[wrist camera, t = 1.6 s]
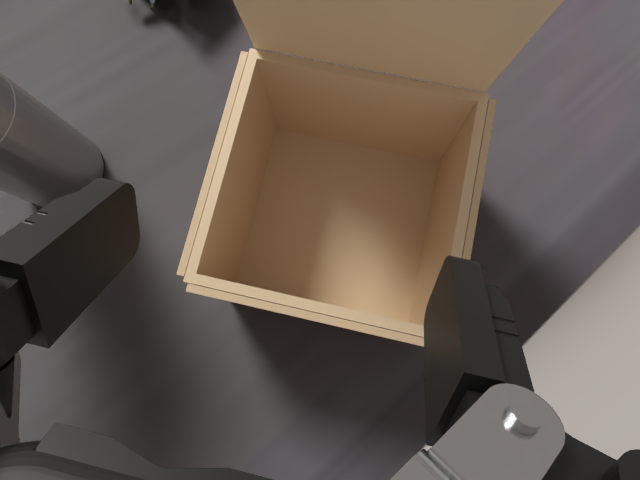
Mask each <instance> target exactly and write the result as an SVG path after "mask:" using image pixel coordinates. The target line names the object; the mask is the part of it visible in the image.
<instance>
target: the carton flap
mask: <svg viewBox="0 0 640 480" xmlns="http://www.w3.org/2000/svg"><path fill="white" fill-rule="evenodd" d="M233 2H234V4H235V6H236V8H237V10H238V13H239V15H240V17H241V19H242V21H243V23H244V26H245V28H246V30H247V32H248V34H249V36H250V39H251V41H252V43H253V45H254V47H255V48H257V49H262V50H268V51H273V52H278V53H283V54H289V55H294V56H299V57H304V58H310V59H315V60H320V61H325V62H331V63H336V64H341V65H346V66H352V67H357V68H362V69H367V70H373V71H378V72H383V73H388V74H394V75H399V76H404V77H409V78H415V79H420V80H425V81H430V82H436V83H441V84H446V85H451V86H456V87H462V88H467V89H472V90H477V91H483V92H485V91H486V90H487V89H488V88H489V86H490V85H491V84H492V83H493V82H494V81H495V79H496V78H497V77H498V76H499V75H500V74H501V72H502V71H503V70H504V69H505V68H506V67H507V65H508V64H509V63H510V62H511V61H512V60H513V59H514V57H515V56H516V55H517V54H518V53H519V52H520V50H521V49H522V48H523V47H524V46H525V45H526V43H527V42H528V41H529V40H530V39H531V38H532V36H533V35H534V34H535V33H536V32H537V31H538V30H539V28H540V27H541V26H542V25H543V24H544V23H545V21H546V20H547V19H548V18H549V17H550V16H551V14H552V13H553V12H554V11H555V10H556V9H557V7H558V6H559V5H560V4H561V3H562V2H563V0H233Z"/></svg>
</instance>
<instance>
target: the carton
mask: <svg viewBox="0 0 640 480" xmlns="http://www.w3.org/2000/svg"><path fill="white" fill-rule="evenodd" d="M496 102H497V100H494V99H489V94H487V93H481V92H476V91H471V90H466V89H461V88H455V87H450V86H445V85H440V84H434V83H429V82H424V81H419V80H413V79H408V78H403V77H398V76H392V75H387V74H382V73H377V72H371V71H366V70H361V69H356V68H350V67H345V66H340V65H335V64H330V63H324V62H319V61H314V60H309V59H303V58H298V57H293V56H288V55H282V54H277V53H272V52H267V51H261V50H256V49H251V48H250V50H249V53H248V52H243V51H241V54H240V57H239V61H238V64H237V68H236V71H235V75H234V78H233V81H232V85H231V88H230V92H229V95H228V99H227V102H226V106H225V109H224V112H223V116H222V119H221V123H220V126H219V130H218V133H217V136H216V140H215V143H214V147H213V150H212V154H211V157H210V161H209V164H208V167H207V171H206V174H205V178H204V181H203V185H202V188H201V191H200V195H199V198H198V202H197V205H196V209H195V212H194V215H193V219H192V222H191V226H190V229H189V233H188V236H187V240H186V243H185V246H184V250H183V253H182V257H181V260H180V264H179V267H178V270H177V274H176V275H179V276H182V277H184V280H183V282H186V283H188V285H187V288H186V291H187V292H191V293H196V294H200V295H204V296H208V297H213V298H217V299H221V300H225V301H230V302H234V303H238V304H242V305H247V306H251V307H255V308H260V309H264V310H268V311H273V312H277V313H281V314H285V315H290V316H294V317H298V318H303V319H307V320H311V321H315V322H320V323H324V324H328V325H333V326H337V327H341V328H346V329H350V330H354V331H358V332H363V333H367V334H371V335H376V336H380V337H384V338H389V339H393V340H397V341H401V342H406V343H410V344H414V345H419V346H423V347H424V317H425V311H426V307H427V304H428V301H429V298H430V296H431V293H432V290H433V288H434V285H435V283H436V280H437V278H438V275H439V272H440V270H441V267H442V265H443V262H444V260H445V258H446V257H447V256H448V255H450V256H454V257H459V258H463V259H468V260H470V259H471V253H472V247H473V241H474V235H475V229H476V223H477V216H478V210H479V204H480V198H481V192H482V186H483V180H484V174H485V168H486V162H487V156H488V150H489V144H490V138H491V132H492V126H493V120H494V114H495V108H496ZM189 283H190V284H189Z"/></svg>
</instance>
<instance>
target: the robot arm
mask: <svg viewBox="0 0 640 480" xmlns="http://www.w3.org/2000/svg"><path fill="white" fill-rule="evenodd" d="M103 170H104V167H103V159H102V156H101V153H100V151H99V150H98V148H97V147H96V146H95V144H94V143H93V142H92V141H90V140H89V139H88V138H86V137H85V136H84V135H82V134H81V133H80V132H79V131H77V130H76V129H75V128H73V127H72V126H71V125H70V124H68V123H67V122H66V121H64V120H63V119H62V118H60V117H59V116H58V115H57V114H55V113H54V112H53V111H51V110H50V109H49V108H47V107H46V106H45V105H43V104H42V103H41V102H40V101H38V100H37V99H36V98H34V97H33V96H32V95H30V94H29V93H28V92H27V91H25V90H24V89H23V88H21V87H20V86H19V85H17V84H16V83H15V82H13V81H12V80H11V79H10V78H8V77H7V76H6V75H4V74H3V73H2V72H0V190H2V191H4V192H7V193H9V194H12V195H14V196H16V197H19V198H21V199H24V200H26V201H29V202H31V203H34V204H36V205H39V206H41V207H43V208H41V209H40V210H38V213H34V214H32V215H31V216H30V217H28V218H27V219H25V222H24V223H22V222H21V223H19V224H18V225H17V226H15V227H14V228H12V229H11V230H9V231H8V232H6V233H5V234H4V235H2V236H1V237H0V480H272V479H268V478H265V477H261V476H257V475H253V474H249V473H246V472H242V471H238V470H234V469H230V468H186V469H167V468H161V467H159V466H156V465H155V464H153V463H152V462H150V461H148V460H147V459H145V458H144V457H142V456H140V455H139V454H137V453H136V452H134V451H132V450H131V449H129V448H128V447H126V446H124V445H123V444H121V443H120V442H118V441H116V440H115V439H113V438H112V437H109V436H105V435H101V434H97V433H93V432H90V431H86V430H82V429H78V428H74V427H71V426H67V425H63V424H59V423H55V424H54V425H53V426H52V428H51V429H50V430H49V431H48V433H47V434H46V435H45V437H44V438H43V439H42V441H31V442H23V443H20V439H19V400H20V372H21V358H20V355H19V352H18V351H19V350H20V349H21V348H22V347H23V346H24V345H25V344H26V343H30V344H34V345H37V346H41V347H45V348H50V347H51V346H52V344H53V343H54V342H55V341H56V340H57V339H58V338H59V337H60V336H61V335H62V334H63V332H64V331H65V330H66V329H67V328H68V327H69V326H70V325H71V324H72V323H73V322H74V321H75V319H76V318H77V317H78V316H79V315H80V314H81V313H82V312H83V311H84V310H85V309H86V307H87V306H88V305H89V304H90V303H91V302H92V301H93V300H94V299H95V298H96V297H97V296H98V294H99V293H100V292H101V291H102V290H103V289H104V288H105V287H106V286H107V285H108V284H109V282H110V281H111V280H112V279H113V278H114V277H115V276H116V275H117V274H118V273H119V272H120V271H121V269H122V268H123V267H124V266H125V265H126V264H127V263H128V262H129V261H130V260H131V259H132V257H133V256H134V254H135V253H136V251H137V248H138V245H139V239H140V232H139V224H138V215H137V206H136V197H135V191H134V188H133V186H132V185H131V184H128V183H124V182H119V181H115V180H110V179H106V178H102V176H103ZM514 322H515V320H514V316H513V312H512V308H511V305H510V303H509V302H508V300H507V299H506V298H505V297H504V295H503V294H502V293H501V291H500V290H499V289H498V287H494V286H489V285H485V282H484V278H483V273H482V268H481V264H480V263H479V262H477V261H472V260H468V259H463V258H459V257H454V256H450V255H448V256H447V257H446V258H445V260H444V262H443V265H442V267H441V270H440V272H439V275H438V278H437V280H436V283H435V285H434V288H433V290H432V293H431V296H430V298H429V301H428V304H427V307H426V311H425V317H424V361H425V401H426V441H427V445H429V446H433V447H432V448H430V449H429V450H428V451H426V450H425V449H422V450H421V451H419V452H418V453H417V454H415V455H414V456H413V457H412V458H411V459H410V460H409V461H408V462H407V463H406V464H405V465H404V466H403V467H402V468H401V469H400V470H399V471H398V472H397V473H396V474H395V475H394V476H393V477H392V478H391V479H390V480H640V450H630V451H628V452H626V453H624V454H623V455H622V456H621V457H620V458H619V459H618V460H615V459H613V458H611V457H609V456H607V455H606V454H603V453H602V452H600V451H598V450H596V449H594V448H592V447H590V446H588V445H586V444H584V443H582V442H580V441H579V440H577V439H575V438H573V437H572V436H570V435H569V434H567V433H566V432H565V431H564V427H563V424H562V422H561V420H560V418H559V416H558V415H557V413H556V412H555V411H554V410H553V408H552V407H551V406H550V405H549V404H548V403H547V402H546V401H545V400H544V399H542V398H541V397H540V396H538V395H537V394H535V393H534V389H533V386H532V382H531V378H530V375H529V371H528V368H527V364H526V360H525V356H524V353H523V349H522V345H521V342H520V339H518V336H519V334H518V331H517V327H516V324H514Z"/></svg>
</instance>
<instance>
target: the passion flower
mask: <svg viewBox="0 0 640 480" xmlns="http://www.w3.org/2000/svg"><path fill="white" fill-rule="evenodd" d="M154 2H155V0H150V3H151V8H150V9H151V10H152V9H153V7H154ZM129 3H130V4H132V0H129Z"/></svg>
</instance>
